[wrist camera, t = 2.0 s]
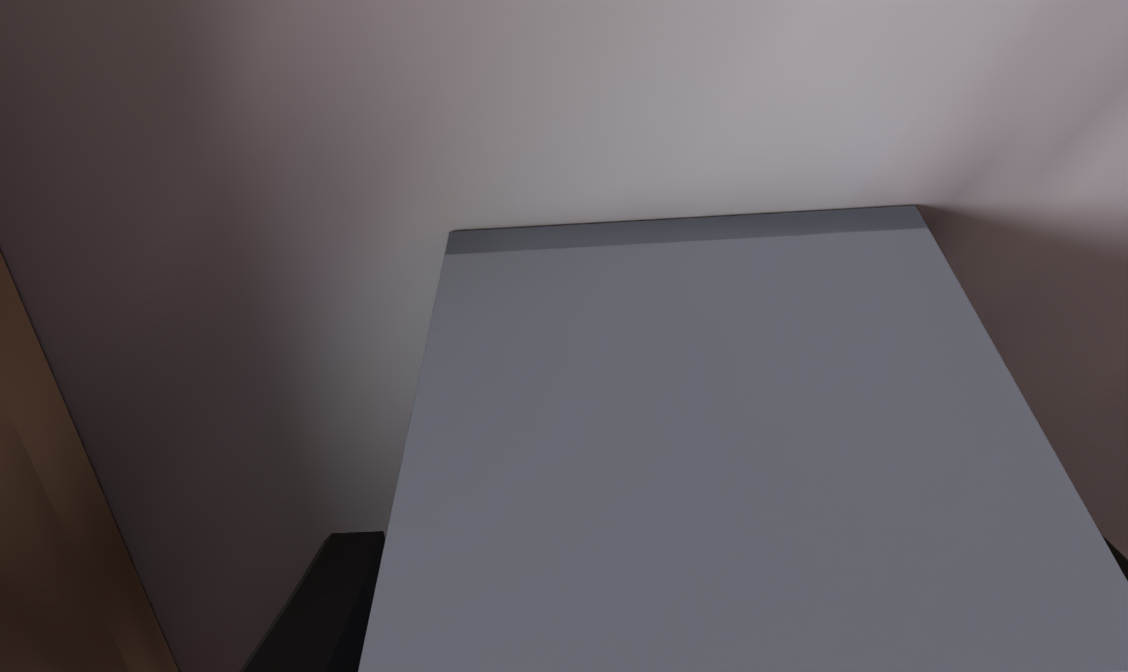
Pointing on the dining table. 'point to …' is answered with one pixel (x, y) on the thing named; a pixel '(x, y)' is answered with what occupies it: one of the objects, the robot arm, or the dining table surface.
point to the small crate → (730, 464)
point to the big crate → (59, 531)
